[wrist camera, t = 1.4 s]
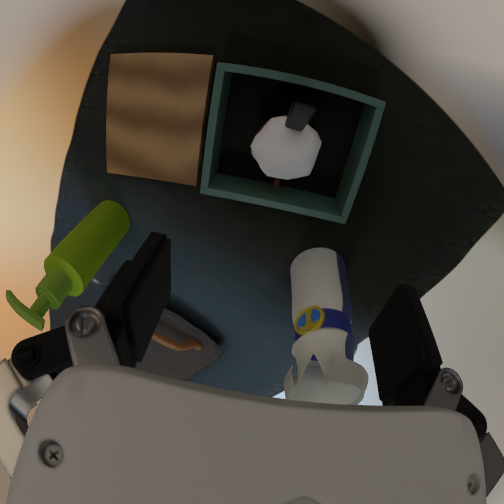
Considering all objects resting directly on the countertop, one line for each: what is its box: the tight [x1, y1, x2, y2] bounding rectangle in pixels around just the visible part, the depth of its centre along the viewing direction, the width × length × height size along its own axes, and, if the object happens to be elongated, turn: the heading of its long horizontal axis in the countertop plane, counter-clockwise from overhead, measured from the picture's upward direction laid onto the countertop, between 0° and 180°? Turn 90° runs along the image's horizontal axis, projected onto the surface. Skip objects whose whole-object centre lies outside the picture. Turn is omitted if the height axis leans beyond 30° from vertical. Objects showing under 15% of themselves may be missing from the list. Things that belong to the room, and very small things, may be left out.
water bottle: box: [284, 248, 368, 405], centre depth 29 cm, size 8×9×25 cm
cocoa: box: [251, 101, 322, 187], centre depth 24 cm, size 10×6×12 cm, turn 146°
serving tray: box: [127, 308, 223, 381], centre depth 54 cm, size 39×23×6 cm, turn 144°
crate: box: [200, 62, 386, 224], centre depth 27 cm, size 14×16×4 cm
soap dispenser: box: [6, 200, 130, 331], centre depth 30 cm, size 6×7×20 cm
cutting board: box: [106, 53, 216, 186], centre depth 28 cm, size 15×12×2 cm
